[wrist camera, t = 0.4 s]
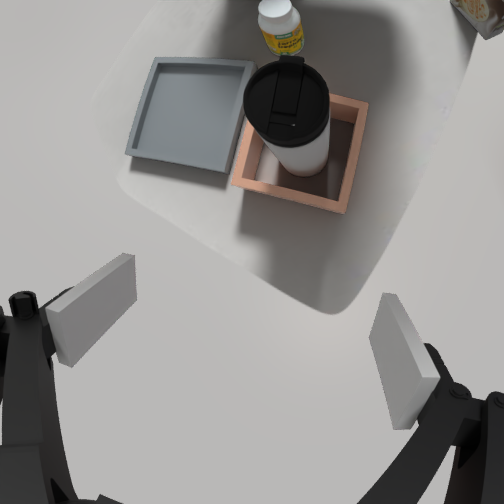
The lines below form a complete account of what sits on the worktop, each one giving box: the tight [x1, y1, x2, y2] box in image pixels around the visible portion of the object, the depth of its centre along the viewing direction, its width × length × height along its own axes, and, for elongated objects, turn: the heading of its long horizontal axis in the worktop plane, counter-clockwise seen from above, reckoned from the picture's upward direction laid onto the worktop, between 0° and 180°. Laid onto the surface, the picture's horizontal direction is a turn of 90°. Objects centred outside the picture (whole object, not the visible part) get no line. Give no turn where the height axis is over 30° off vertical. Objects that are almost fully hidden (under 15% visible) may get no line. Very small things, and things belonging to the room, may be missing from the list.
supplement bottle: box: [258, 0, 304, 56], centre depth 33 cm, size 5×5×10 cm
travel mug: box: [243, 55, 330, 177], centre depth 29 cm, size 6×7×20 cm
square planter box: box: [231, 93, 369, 214], centre depth 36 cm, size 13×13×6 cm
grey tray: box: [125, 57, 258, 174], centre depth 40 cm, size 16×16×2 cm
